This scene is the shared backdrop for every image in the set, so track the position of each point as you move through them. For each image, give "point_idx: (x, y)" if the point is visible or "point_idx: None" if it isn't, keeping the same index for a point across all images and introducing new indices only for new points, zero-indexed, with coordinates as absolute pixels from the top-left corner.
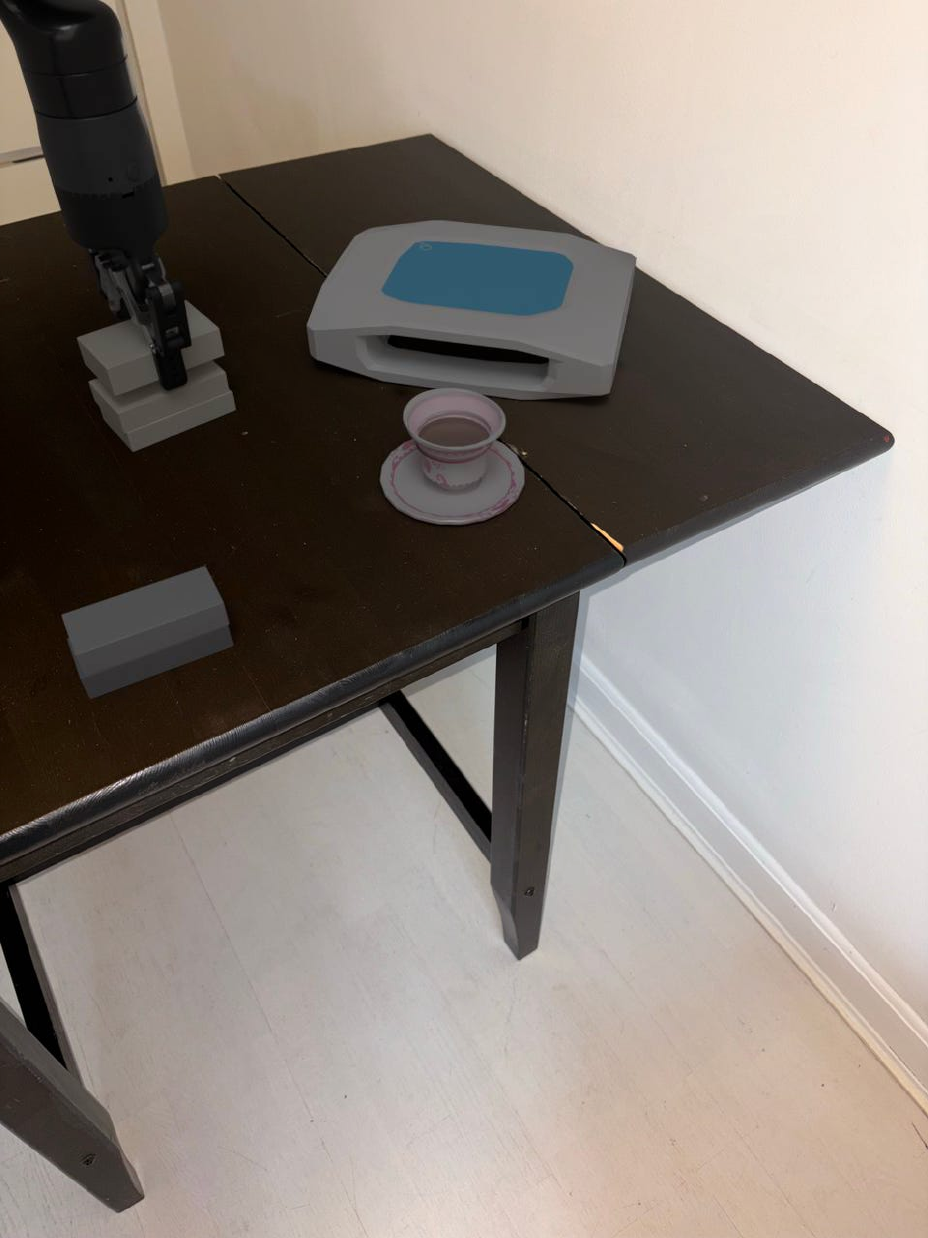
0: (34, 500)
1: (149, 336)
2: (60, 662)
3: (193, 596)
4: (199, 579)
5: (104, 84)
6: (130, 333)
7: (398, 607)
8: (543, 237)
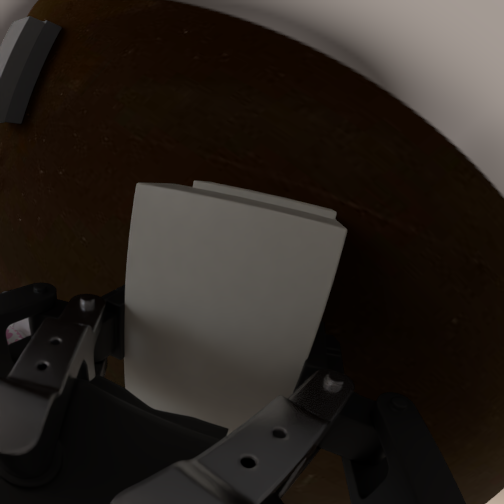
0: (238, 43)
1: (67, 311)
2: (69, 18)
3: None
4: None
5: None
6: (235, 338)
7: None
8: None
